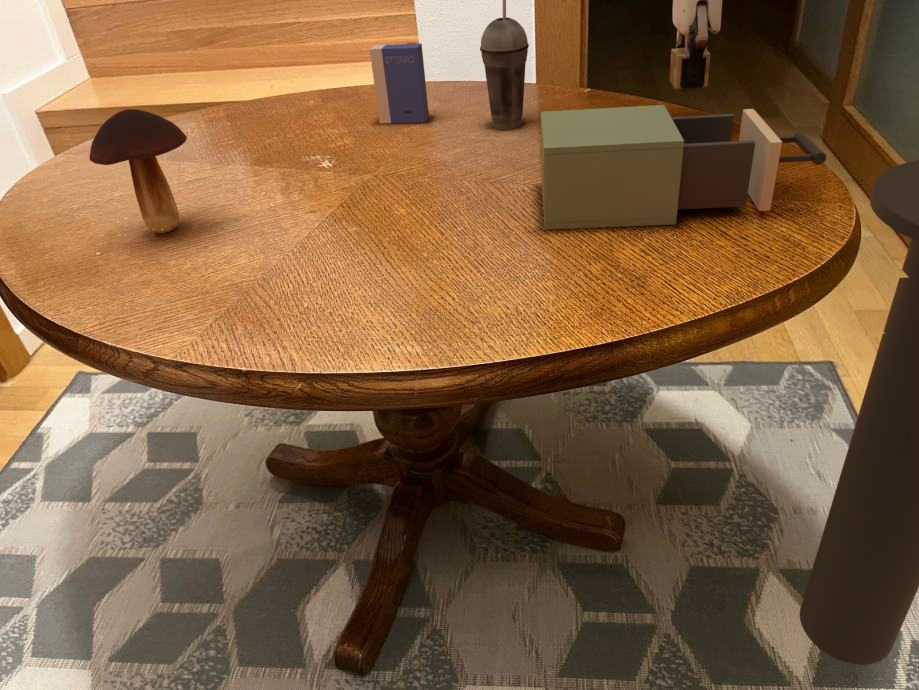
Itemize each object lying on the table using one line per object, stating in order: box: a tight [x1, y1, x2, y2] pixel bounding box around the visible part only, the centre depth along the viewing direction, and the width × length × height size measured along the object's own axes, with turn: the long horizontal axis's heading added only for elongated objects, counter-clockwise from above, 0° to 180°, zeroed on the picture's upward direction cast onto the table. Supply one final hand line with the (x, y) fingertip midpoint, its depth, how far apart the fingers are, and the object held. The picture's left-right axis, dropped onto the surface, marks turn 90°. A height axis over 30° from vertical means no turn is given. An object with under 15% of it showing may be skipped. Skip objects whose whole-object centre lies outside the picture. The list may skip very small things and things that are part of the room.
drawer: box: [671, 108, 827, 212], centre depth 83 cm, size 19×11×8 cm, turn 86°
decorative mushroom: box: [88, 108, 188, 234], centre depth 87 cm, size 11×11×15 cm
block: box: [668, 48, 711, 90], centre depth 104 cm, size 4×4×4 cm
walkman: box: [369, 41, 430, 124], centre depth 117 cm, size 8×3×12 cm, turn 79°
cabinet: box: [540, 104, 684, 231], centre depth 85 cm, size 15×13×10 cm
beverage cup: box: [479, 0, 530, 130], centre depth 109 cm, size 7×7×20 cm
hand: (688, 81), depth 105 cm, fingers closed on block, 4 cm apart
